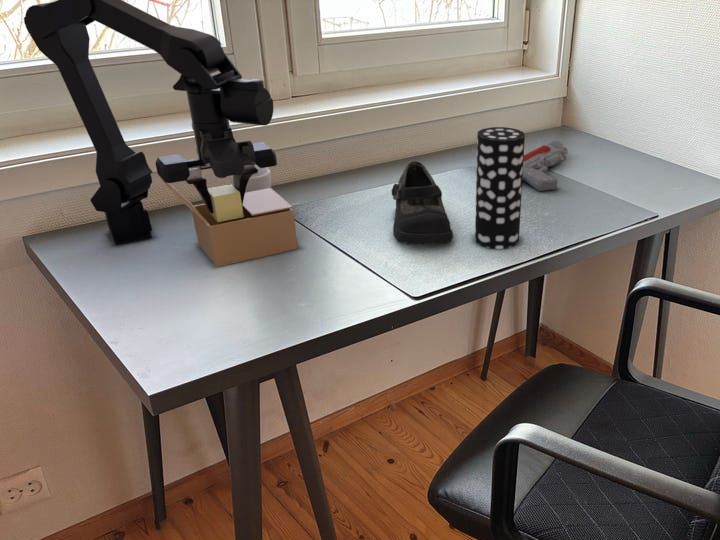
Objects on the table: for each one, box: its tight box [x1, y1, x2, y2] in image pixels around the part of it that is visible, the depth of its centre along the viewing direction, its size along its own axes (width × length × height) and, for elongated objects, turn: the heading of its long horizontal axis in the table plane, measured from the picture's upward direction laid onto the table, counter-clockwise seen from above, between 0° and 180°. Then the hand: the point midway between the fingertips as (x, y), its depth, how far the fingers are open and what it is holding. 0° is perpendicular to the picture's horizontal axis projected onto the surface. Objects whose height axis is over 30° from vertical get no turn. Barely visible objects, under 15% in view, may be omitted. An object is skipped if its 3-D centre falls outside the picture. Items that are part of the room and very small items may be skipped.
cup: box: [228, 164, 272, 193], centre depth 145 cm, size 11×8×8 cm
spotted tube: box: [474, 126, 526, 250], centre depth 133 cm, size 8×8×20 cm
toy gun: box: [522, 140, 569, 192], centre depth 171 cm, size 4×27×15 cm
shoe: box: [391, 161, 454, 245], centre depth 140 cm, size 11×24×10 cm, turn 11°
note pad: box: [207, 183, 244, 222], centre depth 127 cm, size 5×5×5 cm
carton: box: [191, 187, 299, 268], centre depth 131 cm, size 15×11×8 cm
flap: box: [157, 174, 208, 224], centre depth 123 cm, size 7×11×1 cm
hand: (225, 210), depth 128 cm, fingers closed on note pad, 5 cm apart
